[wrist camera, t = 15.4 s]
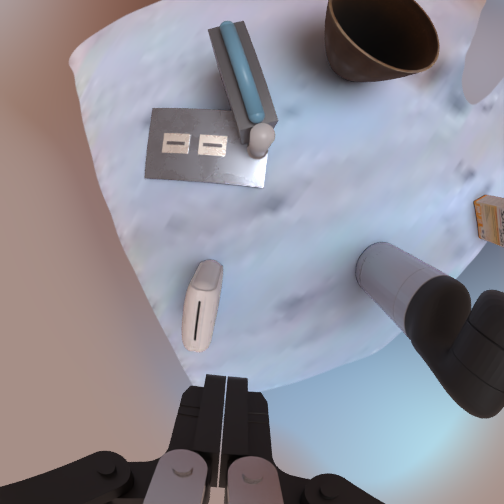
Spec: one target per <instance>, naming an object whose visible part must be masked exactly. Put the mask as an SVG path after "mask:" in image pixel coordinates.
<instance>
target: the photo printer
mask: <svg viewBox="0 0 504 504" xmlns="http://www.w3.org/2000/svg"><path fill="white" fill-rule="evenodd" d="M222 279H223V266H222V265H220V263H218V262H217V261H215V260H206V261H204V262H200V264H199V266H198V268H197V270H196V272H195V274H194V276H193V278H192V280H191V282H190V284H189V286H188V289H187V292H186V297H185V302H184V309H183V318H182V340H183V344H184V346H185V348H186V349H187V350H189V351H195V352H203V351H205V350H206V349H207V348H208V347H209V345H210V342H211V339H212V334H213V330H214V325H215V320H216V316H217V311H218V306H219V300H220V294H221V287H222Z"/></svg>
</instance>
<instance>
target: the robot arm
mask: <svg viewBox="0 0 504 504" xmlns="http://www.w3.org/2000/svg"><path fill="white" fill-rule="evenodd" d="M356 278H357V281H358V283H359V285H360V286H361V287H362V288H363V290H364V291H365V292H366V293H367V294H368V295H369V296H370V297H371V298H372V299H373V300H374V301H375V302H376V303H377V304H378V305H379V307H380V308H381V309H382V310H383V311H384V312H385V313H386V314H387V315H388V316H389V317H390V318H391V319H392V320H393V322H394V323H395V324H396V325H397V326H398V327H399V328H400V329H401V330H402V331H403V332H404V333H405V334H406V336H407V337H408V338H409V339H410V340H411V342H412V345H413V346H414V348H415V349H416V351H417V352H418V353H419V354H420V356H421V357H422V358H423V360H424V361H425V362H426V363H427V365H428V366H429V368H430V369H431V371H432V372H433V373H434V375H435V376H436V378H437V379H438V381H439V382H440V384H441V385H442V386H443V388H444V389H445V390H446V392H447V393H448V394H449V395H450V396H451V398H452V399H453V400H454V401H455V402H456V403H457V404H458V405H459V406H460V407H461V408H463V409H464V410H465V411H467V412H468V413H469V414H471V415H473V416H476V417H479V418H491V417H493V416H495V415H496V414H498V413H499V412H500V411H501V409H502V408H503V407H504V293H503V292H500V291H497V290H487V291H484V292H483V293H482V294H481V295H480V296H479V298H478V299H477V301H476V302H475V304H474V306H473V308H472V310H471V298H470V295H469V292H468V290H467V289H466V288H465V286H464V285H463V284H462V283H460V282H459V281H457V280H456V279H454V278H452V277H450V276H449V275H447V274H445V273H443V272H442V271H440V270H438V269H436V268H434V267H432V266H431V265H429V264H427V263H425V262H423V261H422V260H420V259H418V258H416V257H414V256H412V255H411V254H409V253H407V252H405V251H403V250H401V249H399V248H398V247H396V246H394V245H392V244H389V243H385V242H380V243H376V244H373V245H371V246H370V247H368V248H367V249H366V250H365V251H364V252H363V253H362V255H361V256H360V258H359V260H358V263H357V266H356ZM225 383H226V376H219V375H210V374H206V379H205V384H204V387H198V386H190V387H189V388H188V389H187V390H186V391H185V392H184V393H183V395H182V398H181V403H180V407H179V410H178V415H177V417H176V421H175V425H174V429H173V433H172V437H171V441H170V444H169V448H168V450H167V451H166V453H165V454H164V455H163V456H162V457H160V458H158V459H156V460H153V461H148V462H127V461H126V459H124V458H123V457H122V456H121V455H119V454H117V453H114V452H111V451H99V452H96V453H93V454H91V455H88V456H86V457H84V458H82V459H79V460H77V461H74V462H72V463H69V464H67V465H65V466H62V467H59V468H57V469H54V470H51V471H49V472H46V473H43V474H40V475H37V476H34V477H31V478H29V479H25V480H22V481H19V482H16V483H12V484H9V485H5V486H2V487H0V504H208V502H209V498H210V487H217V478H218V464H219V453H220V441H221V430H222V417H223V406H224V395H225ZM270 438H271V437H270V426H269V415H268V404H267V401H266V399H265V398H264V397H263V395H262V393H261V392H248V379H247V378H240V377H229V376H228V380H227V391H226V403H225V414H224V426H223V439H222V452H221V465H220V479H219V487H222V488H225V497H224V504H385V503H383V502H381V501H380V500H378V499H376V498H374V497H373V496H371V495H370V494H368V493H366V492H365V491H363V490H362V489H360V488H358V487H357V486H355V485H353V484H352V483H351V482H349V481H348V480H346V479H345V478H343V477H341V476H339V475H336V474H321V475H318V476H315V477H314V478H312V479H311V480H310V479H305V478H300V477H296V476H292V475H289V474H287V473H285V472H283V471H281V470H280V469H279V468H278V467H277V466H276V465H275V463H274V461H273V458H272V449H271V439H270Z"/></svg>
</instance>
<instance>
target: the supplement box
mask: <svg viewBox="0 0 504 504" xmlns="http://www.w3.org/2000/svg"><path fill="white" fill-rule="evenodd" d="M474 205H475V210H476V216H477V223H478V232H479V238H481V239H484V240H486V241H489V242H492V243H494V244H497V245H499V246H502V247H504V198H501V197H496V196H490V195H484V196H483V197H481V198H479V199H477V200H475V201H474Z"/></svg>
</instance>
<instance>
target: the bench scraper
mask: <svg viewBox="0 0 504 504" xmlns="http://www.w3.org/2000/svg"><path fill="white" fill-rule="evenodd" d="M208 33H209V36H210V40H211V43H212V47H213V51H214V54H215V58H216V62H217V65H218V69H219V72H220V75H221V78H222V81H223V85H224V88H225V91H226V94H227V98H228V101H229V104H230V108H231V111H232V114H233V117H234V121H235V124H236V127H237V131H238V134H239V137H240V141H241V144H245V143H249V142H250V143H249V152H250V154H251V155H252V156H254V157H261V156H263V155H264V154H265V152H266V151H267V150H268V148H269V147H270V145H271V144H272V143H273V141H274V139H275V131H274V127H275V125H276V124H277V122H278V118H277V115H276V112H275V109H274V106H273V103H272V99H271V96H270V93H269V90H268V87H267V84H266V81H265V78H264V75H263V73H262V70H261V67H260V64H259V61H258V58H257V55H256V53H255V50H254V47H253V44H252V42H251V39H250V36H249V34H248V31H247V28H246V26H245V23H244V21H241V22H236V23H232V22H231V21H224V22H223V23H221V25H220V26H219V27H216V28H212V29H208Z"/></svg>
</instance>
